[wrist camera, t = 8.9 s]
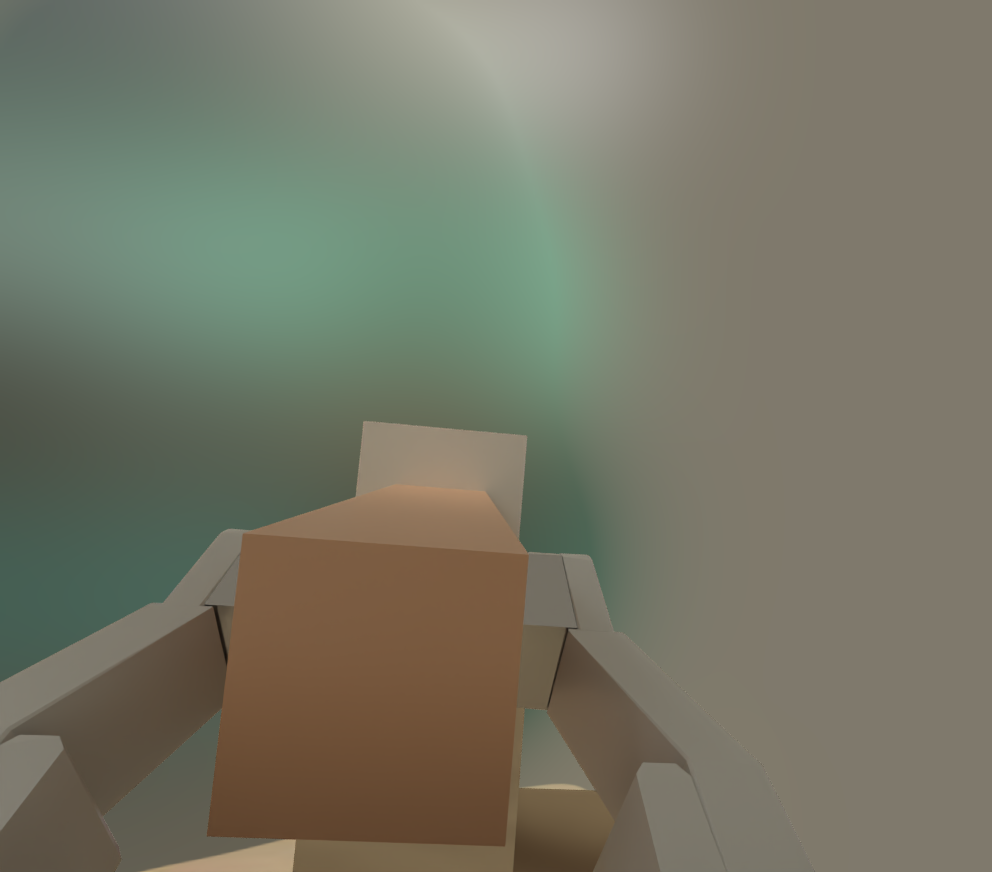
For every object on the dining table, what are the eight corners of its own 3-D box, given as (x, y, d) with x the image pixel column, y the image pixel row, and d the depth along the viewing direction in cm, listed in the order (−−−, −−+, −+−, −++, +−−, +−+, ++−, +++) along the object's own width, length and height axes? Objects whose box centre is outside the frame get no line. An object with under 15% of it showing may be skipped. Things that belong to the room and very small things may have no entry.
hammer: (381, 541, 21) (392, 432, 21) (500, 550, 21) (510, 442, 22) (75, 831, 4) (142, 332, 5) (622, 850, 5) (653, 383, 5)
